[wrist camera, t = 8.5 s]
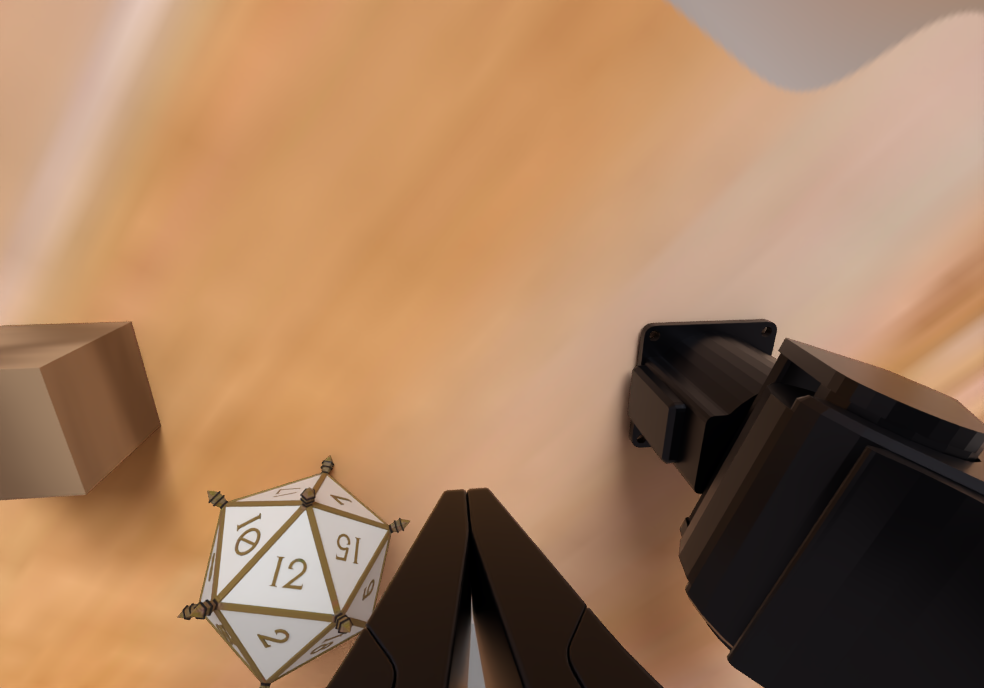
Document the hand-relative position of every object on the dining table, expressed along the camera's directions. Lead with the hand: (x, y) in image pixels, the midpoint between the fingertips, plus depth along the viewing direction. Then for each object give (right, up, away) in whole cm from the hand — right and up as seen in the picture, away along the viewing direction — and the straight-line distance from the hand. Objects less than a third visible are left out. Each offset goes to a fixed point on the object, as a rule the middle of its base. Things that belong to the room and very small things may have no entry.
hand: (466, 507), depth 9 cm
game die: (-8, -5, +15) cm, 18 cm away
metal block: (-17, +2, +12) cm, 21 cm away
